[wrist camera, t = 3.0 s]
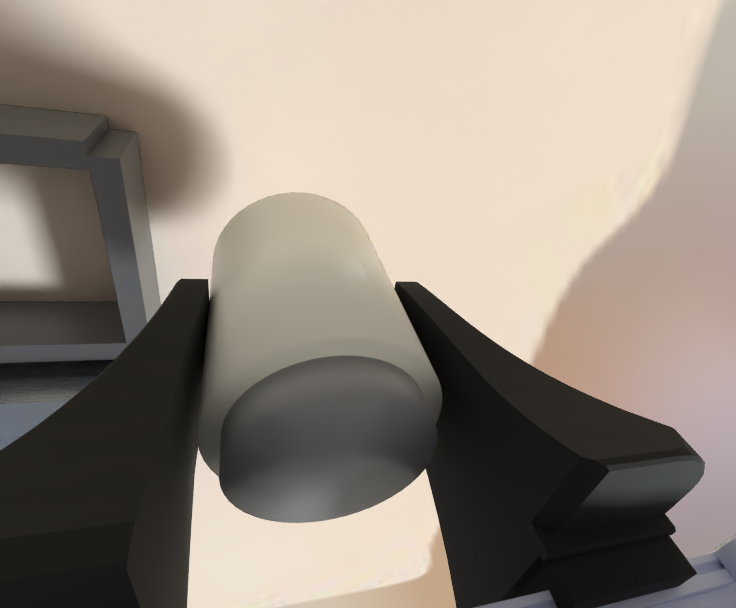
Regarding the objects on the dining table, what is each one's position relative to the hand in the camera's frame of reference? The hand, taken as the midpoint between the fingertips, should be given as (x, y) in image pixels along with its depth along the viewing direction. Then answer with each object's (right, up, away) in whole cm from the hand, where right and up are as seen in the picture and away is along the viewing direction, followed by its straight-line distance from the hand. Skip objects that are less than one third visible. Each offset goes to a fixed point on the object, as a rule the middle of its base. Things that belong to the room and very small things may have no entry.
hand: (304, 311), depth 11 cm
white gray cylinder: (-1, +1, +2) cm, 2 cm away
